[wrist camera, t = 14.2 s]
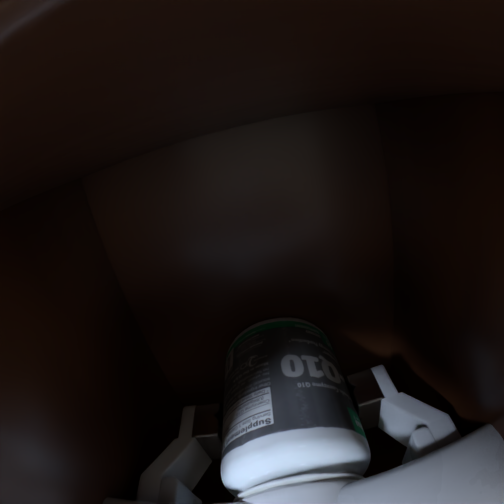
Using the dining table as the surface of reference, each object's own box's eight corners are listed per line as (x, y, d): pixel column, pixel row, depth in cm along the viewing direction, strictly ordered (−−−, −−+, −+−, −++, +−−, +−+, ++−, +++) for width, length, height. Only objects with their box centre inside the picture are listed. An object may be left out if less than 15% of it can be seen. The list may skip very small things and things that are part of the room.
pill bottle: (348, 352, 13) (412, 511, 5) (272, 402, 14) (290, 554, 6) (285, 291, 12) (339, 501, 4) (203, 355, 13) (183, 539, 5)
